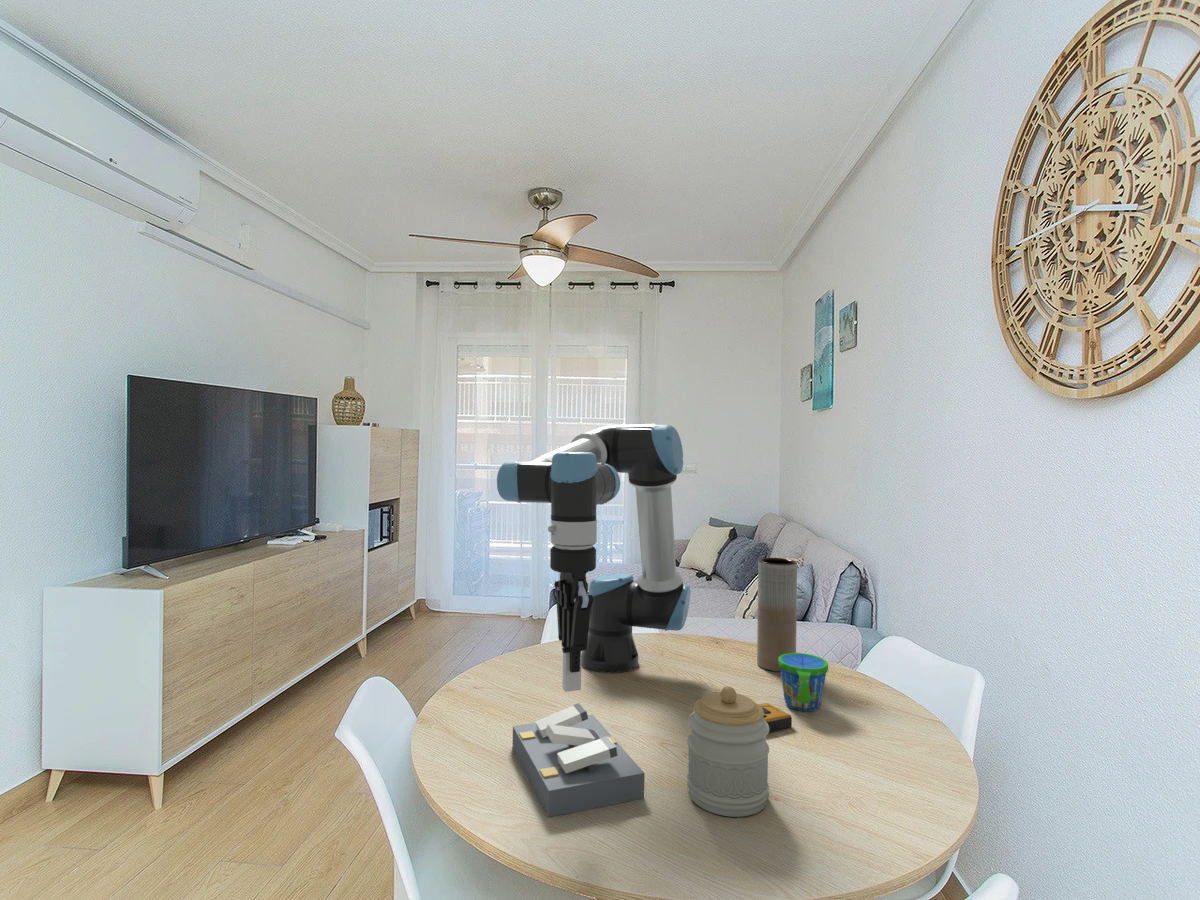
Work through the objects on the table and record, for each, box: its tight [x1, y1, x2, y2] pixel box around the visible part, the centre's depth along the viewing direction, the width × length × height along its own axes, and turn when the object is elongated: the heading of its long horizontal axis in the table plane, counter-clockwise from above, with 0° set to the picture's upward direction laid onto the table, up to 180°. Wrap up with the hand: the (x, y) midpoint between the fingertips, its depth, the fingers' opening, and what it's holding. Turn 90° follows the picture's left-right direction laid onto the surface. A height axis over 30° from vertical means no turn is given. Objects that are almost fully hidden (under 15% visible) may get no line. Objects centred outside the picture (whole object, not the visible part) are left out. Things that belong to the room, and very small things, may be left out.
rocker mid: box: [546, 724, 600, 746], centre depth 109 cm, size 4×9×2 cm, turn 111°
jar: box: [686, 686, 770, 818], centre depth 102 cm, size 13×13×18 cm
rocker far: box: [534, 702, 589, 738], centre depth 115 cm, size 4×9×2 cm, turn 111°
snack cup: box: [778, 652, 829, 712], centre depth 139 cm, size 16×10×10 cm
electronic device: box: [757, 702, 793, 734], centre depth 128 cm, size 8×16×3 cm, turn 115°
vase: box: [756, 557, 798, 673], centre depth 165 cm, size 10×10×28 cm
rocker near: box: [557, 736, 618, 773], centre depth 102 cm, size 4×9×2 cm, turn 111°
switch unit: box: [512, 714, 646, 818], centre depth 109 cm, size 24×16×5 cm, turn 21°
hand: (571, 689), depth 103 cm, fingers closed
